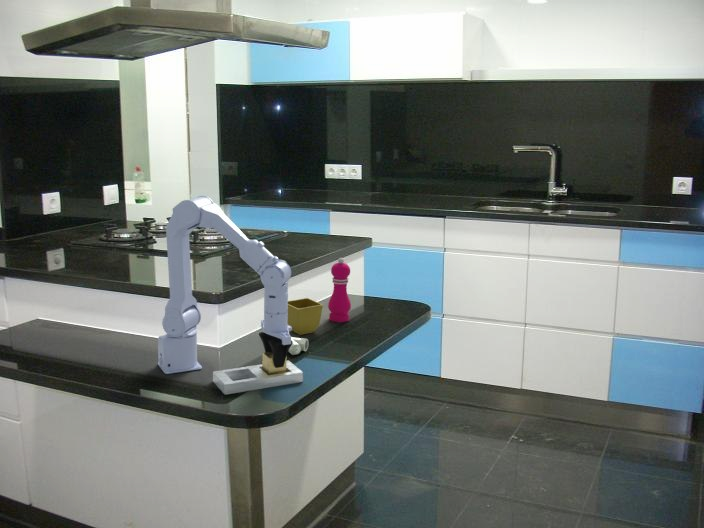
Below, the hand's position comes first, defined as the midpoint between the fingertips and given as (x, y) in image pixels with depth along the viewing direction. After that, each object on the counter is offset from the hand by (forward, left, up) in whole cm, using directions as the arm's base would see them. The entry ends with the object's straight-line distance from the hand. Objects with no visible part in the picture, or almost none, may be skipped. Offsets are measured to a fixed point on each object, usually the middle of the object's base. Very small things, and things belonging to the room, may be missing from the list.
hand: (275, 363), depth 180 cm
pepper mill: (+38, +38, -4) cm, 54 cm away
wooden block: (0, 0, -4) cm, 4 cm away
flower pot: (+22, +31, -4) cm, 38 cm away
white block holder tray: (-4, 0, -4) cm, 6 cm away
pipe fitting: (+12, +17, -4) cm, 21 cm away
